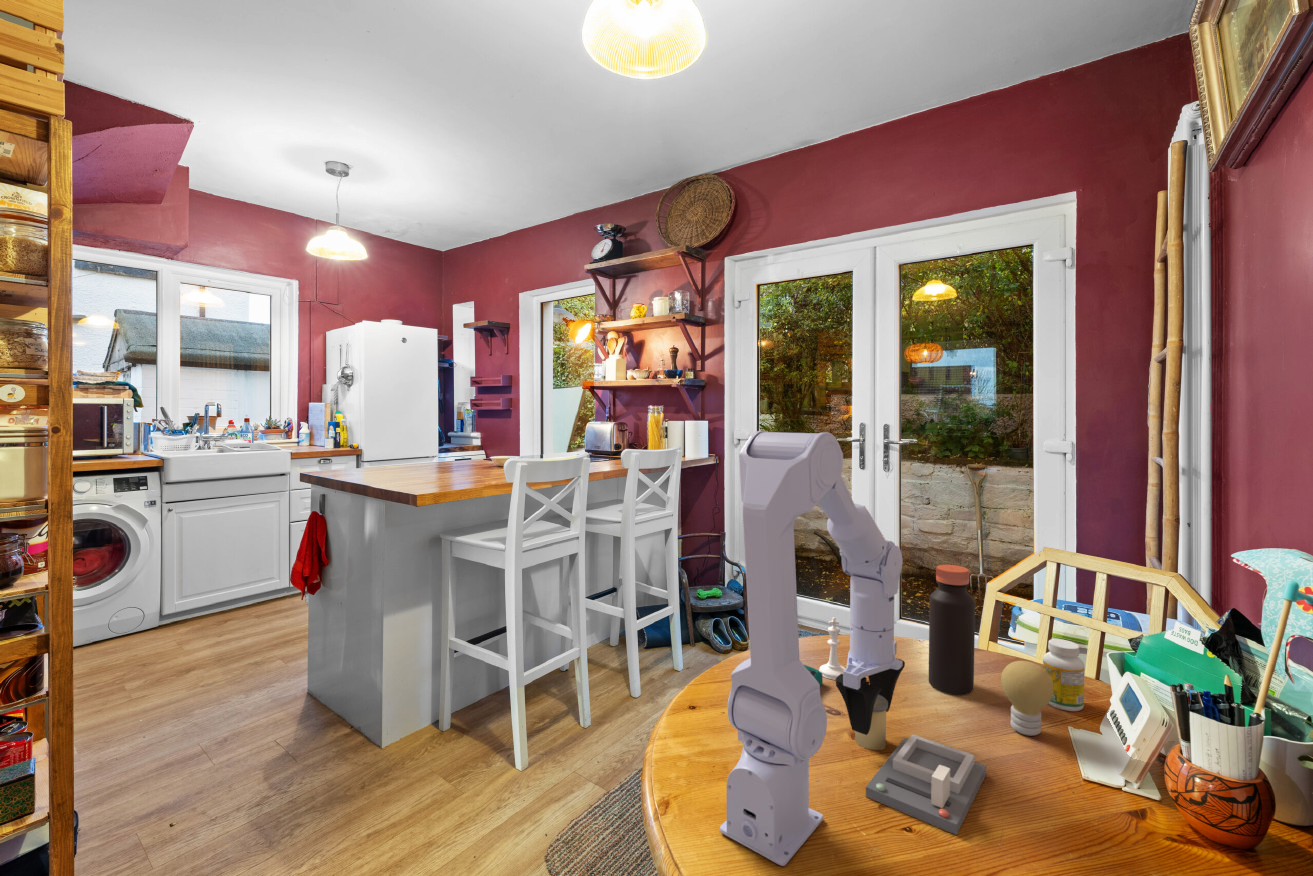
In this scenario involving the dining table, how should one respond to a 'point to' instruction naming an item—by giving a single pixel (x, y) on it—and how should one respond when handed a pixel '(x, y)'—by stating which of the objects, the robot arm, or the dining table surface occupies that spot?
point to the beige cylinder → (875, 727)
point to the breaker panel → (927, 782)
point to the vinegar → (952, 632)
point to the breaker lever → (940, 786)
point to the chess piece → (832, 654)
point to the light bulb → (1026, 694)
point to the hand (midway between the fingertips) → (870, 720)
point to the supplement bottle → (1065, 674)
